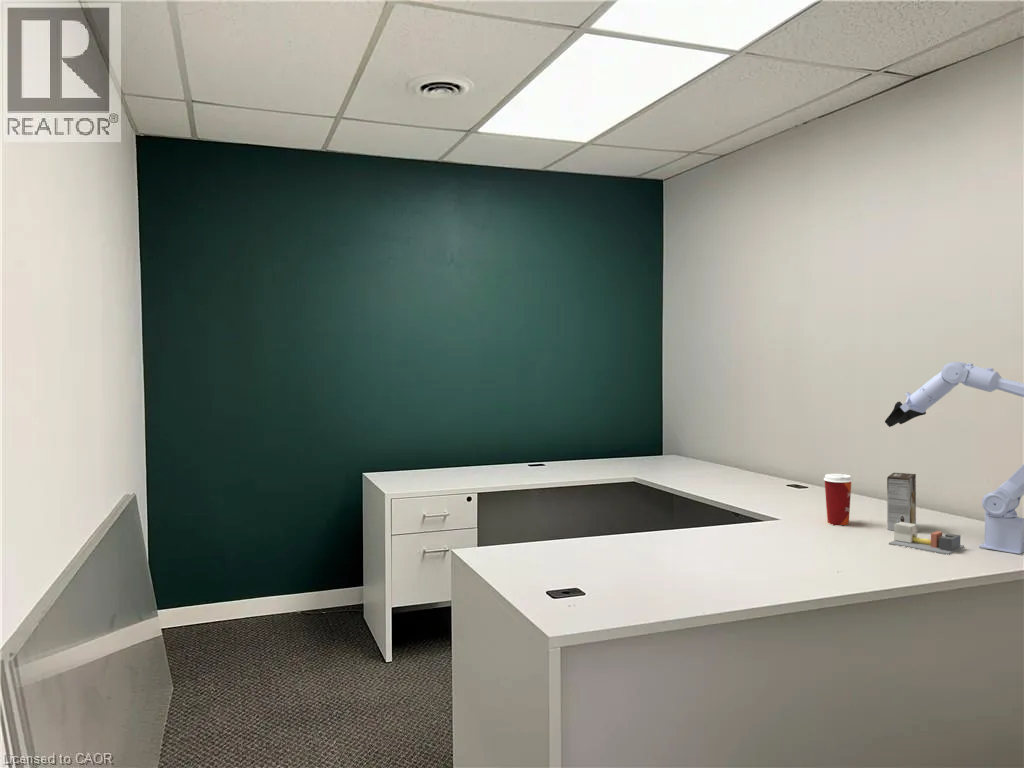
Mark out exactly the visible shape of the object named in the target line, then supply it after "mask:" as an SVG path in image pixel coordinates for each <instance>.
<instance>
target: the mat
mask: <svg viewBox="0 0 1024 768" xmlns="http://www.w3.org/2000/svg"><path fill="white" fill-rule="evenodd" d="M890 544H894V545H893V546H896V545H899V546H898V547H901V546H905V547H904V548H907V547H910V548H909V549H912V548H915V549H914V550H918V549H920V550H919V551H923V550H926V551H925V552H929V551H930V552H929V553H935V552H936V554H940V553H941V554H942V555H946V554H947V555H946V556H949V555H951V554H954V551H955V552H956V550H957V551H959V550H961V549H963V548H965V545H963V544H960V548H961V549H960V548H958V549H959V550H958V549H956V550H954V551H952V552H951V551H946V550H940V549H939V547H937V548H934V547H931V545H928V544H922V543H916V542H911V543H909V542H903V541H898V540H894V539H893V541H889V542H888V545H890ZM962 547H963V548H962ZM941 554H940V555H941ZM948 554H949V555H948Z"/></svg>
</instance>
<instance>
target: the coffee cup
mask: <svg viewBox="0 0 1024 768" xmlns="http://www.w3.org/2000/svg"><path fill="white" fill-rule="evenodd" d="M823 481H824V489H825V490H824V492H825V505H826V517H827V518H826V519H827V524H828V523H830V524H833V525H832V526H835V525H846V526H848V525H850V524H849V523H850V512H851V511H850V510H851V495H852V491H851V490H852V482H853V479H852V476H851V475H849V474H845V473H827V474H825V475H824V477H823ZM830 524H829V525H830ZM847 524H848V525H847Z"/></svg>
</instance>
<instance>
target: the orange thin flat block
mask: <svg viewBox="0 0 1024 768" xmlns="http://www.w3.org/2000/svg"><path fill="white" fill-rule="evenodd" d="M942 536H943V531H938V530H936V531H934V532H931V533H930V540H931V547H934V548H937V547H939V545H938V543H939V537H942Z"/></svg>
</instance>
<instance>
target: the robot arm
mask: <svg viewBox="0 0 1024 768" xmlns="http://www.w3.org/2000/svg"><path fill="white" fill-rule="evenodd" d="M960 383H961V384H963V385H964V386H965V387H970V388H973V389H976V390H980V391H984V392H988V393H991V392H995V391H996V390H999V391H1002V392H1006V393H1008V394H1012V395H1014V396H1019V397H1021V398H1024V382H1021V381H1016V380H1012V379H1008V378H1004V377H1002V376H1001V375H1000V373H999V371H996V370H994V368H993V367H986V368H984V367H980V366H976V365H974V363H971V362H967V363H966V362H963V361H952V362H949V363H946V364H945V365H943V367H942V369H941V371H940V372H939V373H937V374H936V375H933V376H932V377H931V378H930V379H929V380H928V381H926V382H925V383H924V384H923V385H922V386H921V387H919V388H918V389H917V390H915V392H913V393H911V392H906V393H905V394H904V395H905V396H906V400H905V402H904V403H902V401H897V402H896V403H895V404H894V407H893V409H892V411H891V413H890V414H889V415H888V416H887V418H886V419H885V421H884V423H885V424H886V425H887V426H888V427H889V428H890V427H893V426H896V425H897V424H899V425H902V424H905V423H906V422H909V421H910V420H912V419H914V418H917V417H920V416H923V415H926V414H927V412H926V411H927V410H928V409H929V408H931V407H933V405H934V404H936V403H938V402H939V401H940V400H941V399H942V398H944V397H945V396H946V395H947V394H948V393H950V392H951V391H952V390H953V389H954V388H955V387H957V386H958V385H959V384H960ZM1023 496H1024V463H1023V464H1021V466H1020V467H1019V468H1018V469H1017V470H1016V471H1015V472H1014V473H1013V474H1012V475H1011V476H1010V477H1009V478H1008V479H1007V480H1006V481H1005V482H1003V483H1002V484H1001V485H1000V486H998V487H997V488H996V489H995V490H993V491H991V492H988V493H986V494H984V495H983V497H982V500H981V506H982V508H983V510H984V542H983V543H981V544H979V545H978V547H979V548H981V549H988V550H993V551H1000V552H1006V553H1011V554H1016V555H1017V554H1018V555H1020V554H1022V553H1024V518H1023V517H1019V516H1018V513H1017V511H1016V509H1017V508H1018V507H1019V505H1020V502H1021V499H1022V498H1023Z"/></svg>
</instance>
